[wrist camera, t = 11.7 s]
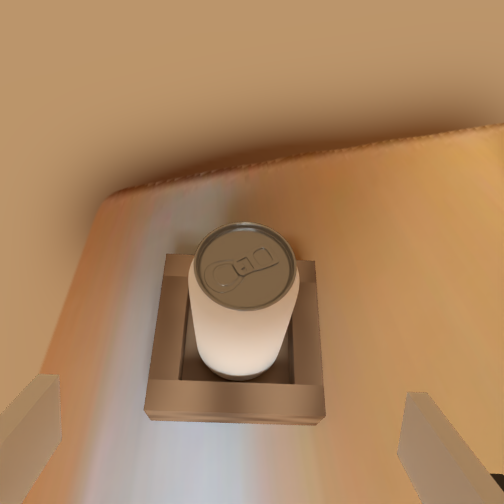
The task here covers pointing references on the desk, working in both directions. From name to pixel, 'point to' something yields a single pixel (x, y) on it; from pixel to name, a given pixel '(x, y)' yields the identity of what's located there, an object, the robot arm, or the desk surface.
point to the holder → (228, 391)
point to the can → (242, 298)
